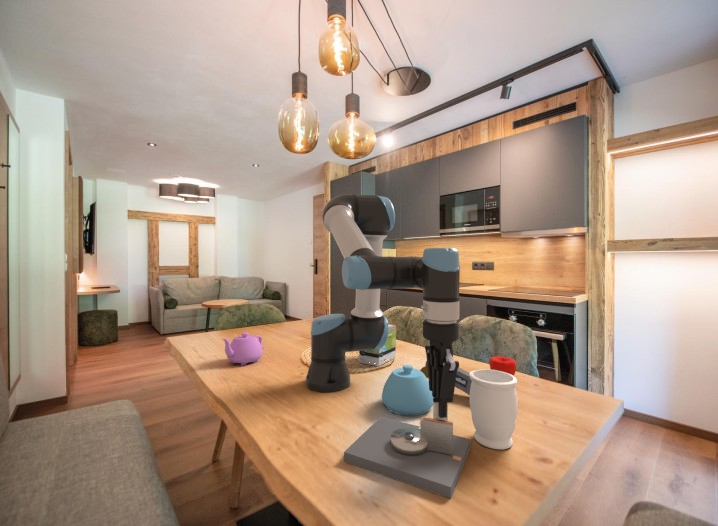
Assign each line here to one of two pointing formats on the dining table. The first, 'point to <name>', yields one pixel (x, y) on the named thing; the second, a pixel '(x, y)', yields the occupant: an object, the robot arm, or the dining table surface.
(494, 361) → the apple
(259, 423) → the dining table surface
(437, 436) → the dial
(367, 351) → the tea box
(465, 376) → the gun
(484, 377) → the jar
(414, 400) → the sugar bowl
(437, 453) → the board
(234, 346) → the teapot
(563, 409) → the dining table surface
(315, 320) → the robot arm
